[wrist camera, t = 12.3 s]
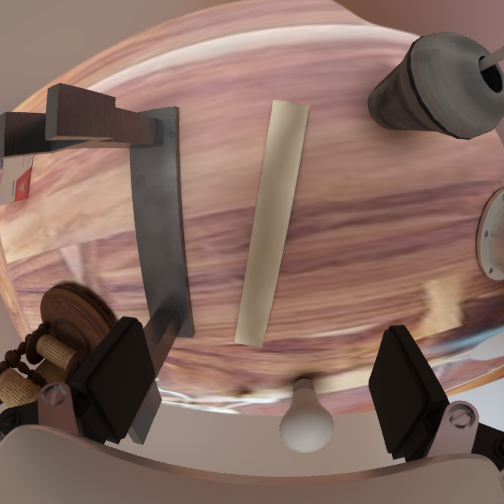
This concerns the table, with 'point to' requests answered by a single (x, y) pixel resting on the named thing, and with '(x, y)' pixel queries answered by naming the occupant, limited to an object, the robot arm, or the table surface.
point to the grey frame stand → (144, 201)
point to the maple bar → (271, 219)
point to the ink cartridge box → (14, 178)
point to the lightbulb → (306, 420)
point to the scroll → (54, 344)
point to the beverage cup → (442, 88)
